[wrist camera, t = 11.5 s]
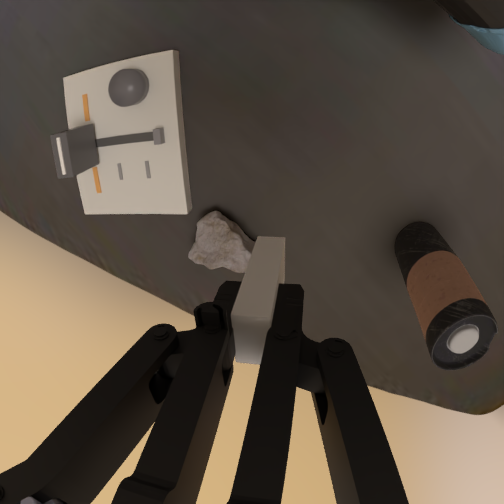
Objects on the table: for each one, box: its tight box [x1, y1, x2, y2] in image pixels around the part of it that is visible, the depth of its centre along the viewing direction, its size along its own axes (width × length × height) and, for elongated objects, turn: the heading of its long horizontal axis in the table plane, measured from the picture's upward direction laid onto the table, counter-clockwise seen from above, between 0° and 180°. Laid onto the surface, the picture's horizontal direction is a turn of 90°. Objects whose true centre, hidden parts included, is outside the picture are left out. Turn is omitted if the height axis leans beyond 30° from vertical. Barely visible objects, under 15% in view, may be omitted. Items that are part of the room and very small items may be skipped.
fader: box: [50, 124, 99, 179], centre depth 37 cm, size 6×3×6 cm, turn 2°
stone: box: [188, 211, 255, 273], centre depth 43 cm, size 8×10×6 cm
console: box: [63, 50, 192, 214], centre depth 39 cm, size 22×18×4 cm
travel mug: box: [395, 222, 498, 370], centre depth 33 cm, size 8×8×20 cm
